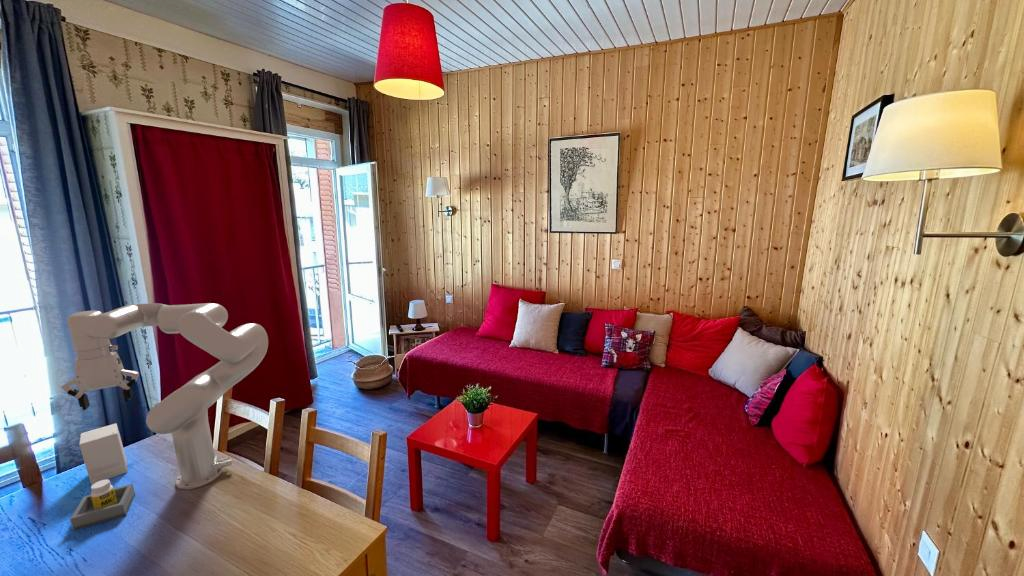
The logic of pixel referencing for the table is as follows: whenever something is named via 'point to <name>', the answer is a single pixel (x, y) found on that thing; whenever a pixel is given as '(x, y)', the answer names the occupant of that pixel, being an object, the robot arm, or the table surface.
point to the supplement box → (103, 453)
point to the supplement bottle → (103, 494)
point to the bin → (102, 509)
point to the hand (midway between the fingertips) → (107, 404)
